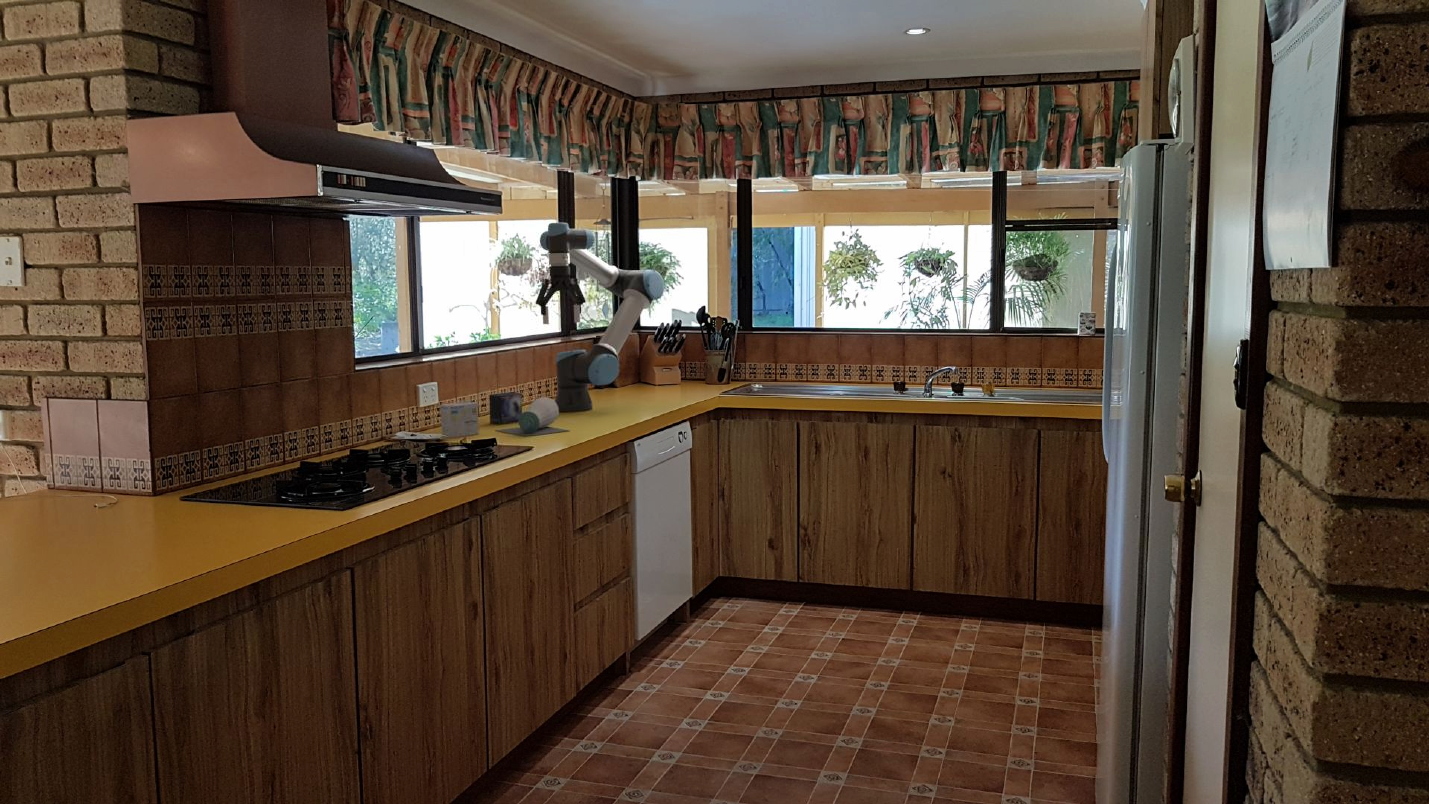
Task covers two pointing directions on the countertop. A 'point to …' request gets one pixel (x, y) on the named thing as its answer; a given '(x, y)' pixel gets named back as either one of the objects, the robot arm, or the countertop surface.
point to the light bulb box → (459, 419)
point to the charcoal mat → (539, 431)
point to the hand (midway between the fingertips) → (561, 323)
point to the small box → (505, 407)
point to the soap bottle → (538, 415)
